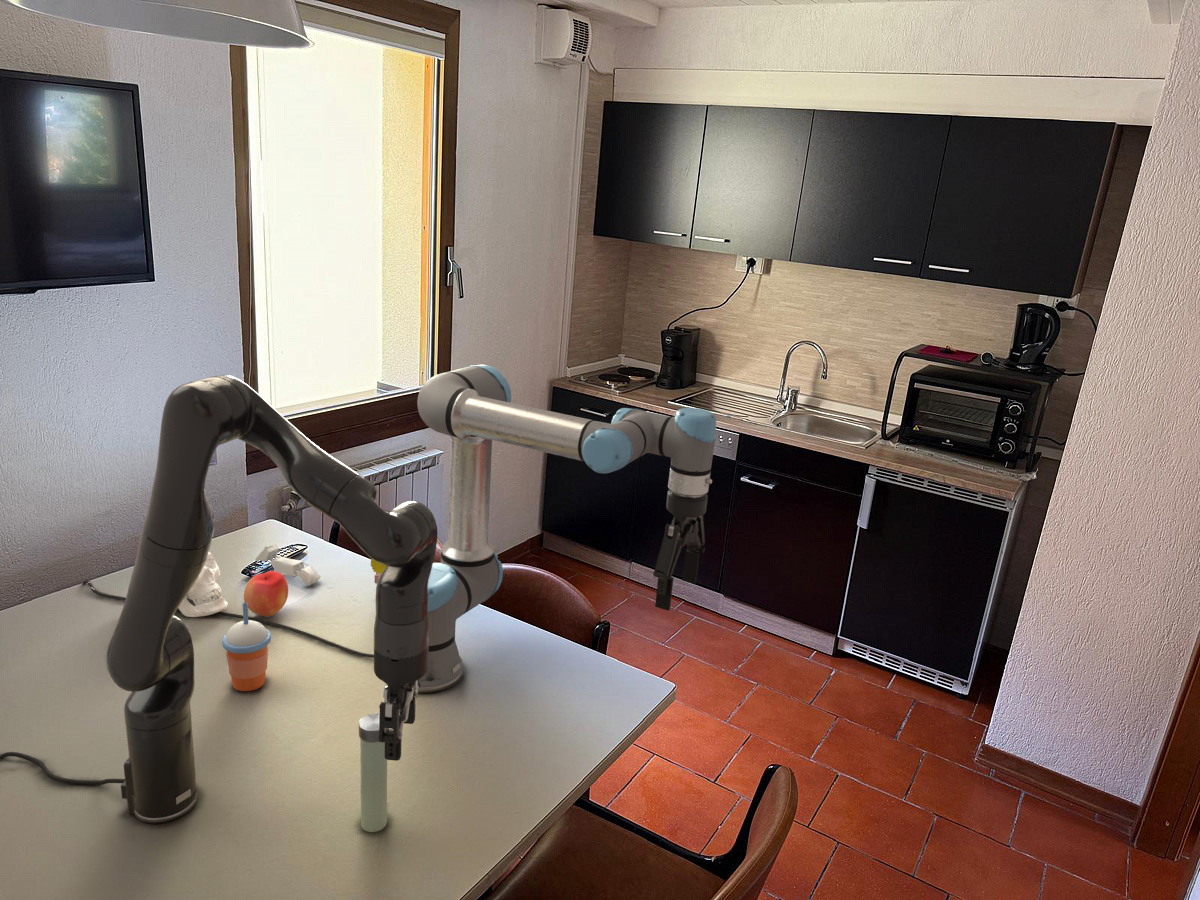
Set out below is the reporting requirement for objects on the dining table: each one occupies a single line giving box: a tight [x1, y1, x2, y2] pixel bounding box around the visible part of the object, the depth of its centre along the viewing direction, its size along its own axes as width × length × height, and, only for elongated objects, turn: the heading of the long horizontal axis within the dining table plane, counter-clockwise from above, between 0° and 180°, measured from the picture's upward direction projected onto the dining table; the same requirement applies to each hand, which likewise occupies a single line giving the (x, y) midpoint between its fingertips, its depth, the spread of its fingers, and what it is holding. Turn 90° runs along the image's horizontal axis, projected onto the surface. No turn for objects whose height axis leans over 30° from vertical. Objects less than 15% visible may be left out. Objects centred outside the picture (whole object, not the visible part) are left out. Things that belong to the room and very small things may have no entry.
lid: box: [358, 712, 380, 742], centre depth 134 cm, size 5×5×2 cm
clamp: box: [254, 544, 322, 587], centre depth 219 cm, size 20×4×7 cm, turn 62°
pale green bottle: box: [359, 737, 388, 833], centre depth 137 cm, size 4×4×19 cm
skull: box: [178, 551, 229, 618], centre depth 200 cm, size 13×22×16 cm, turn 73°
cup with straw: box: [221, 602, 272, 692], centre depth 171 cm, size 9×9×18 cm
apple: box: [243, 570, 289, 618], centre depth 199 cm, size 10×10×10 cm
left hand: (400, 740), depth 125 cm, fingers open, 8 cm apart
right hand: (676, 594), depth 165 cm, fingers open, 13 cm apart
